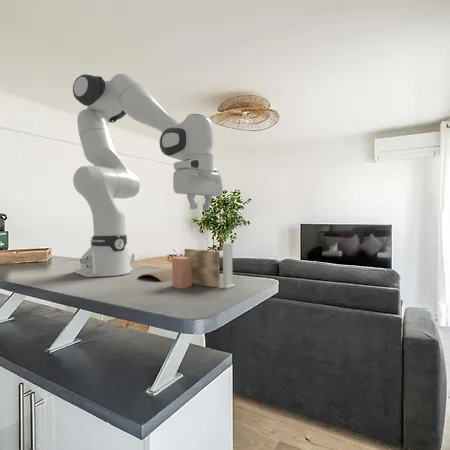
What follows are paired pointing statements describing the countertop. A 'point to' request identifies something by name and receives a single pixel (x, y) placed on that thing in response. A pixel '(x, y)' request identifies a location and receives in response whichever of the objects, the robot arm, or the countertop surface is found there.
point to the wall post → (227, 266)
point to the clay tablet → (160, 275)
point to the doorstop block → (181, 272)
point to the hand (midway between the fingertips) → (200, 209)
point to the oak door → (204, 267)
